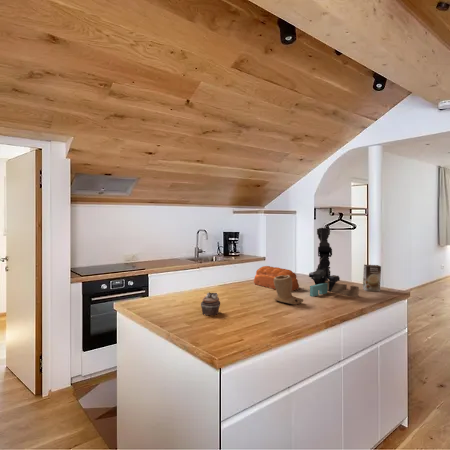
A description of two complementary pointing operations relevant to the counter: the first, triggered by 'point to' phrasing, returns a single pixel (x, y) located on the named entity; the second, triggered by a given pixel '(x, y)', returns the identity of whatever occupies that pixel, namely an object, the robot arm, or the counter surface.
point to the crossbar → (320, 287)
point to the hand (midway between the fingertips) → (323, 290)
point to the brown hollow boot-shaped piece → (285, 290)
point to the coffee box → (372, 278)
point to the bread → (273, 276)
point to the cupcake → (210, 304)
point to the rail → (344, 289)
